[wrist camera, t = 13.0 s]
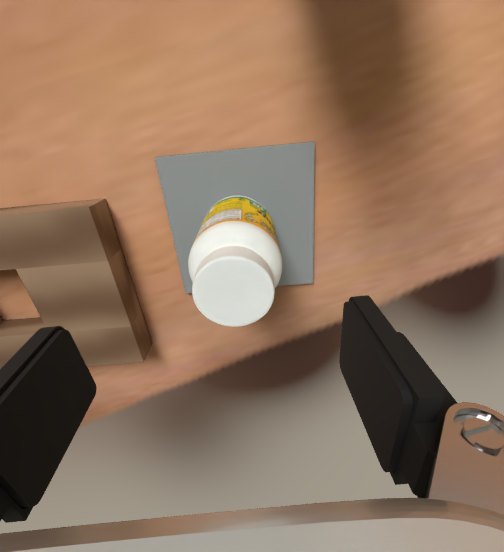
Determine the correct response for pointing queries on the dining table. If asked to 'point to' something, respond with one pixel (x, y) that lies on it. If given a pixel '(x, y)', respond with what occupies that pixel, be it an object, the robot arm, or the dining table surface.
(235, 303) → the supplement bottle
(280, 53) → the dining table surface
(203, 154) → the rubber mat
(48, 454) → the robot arm
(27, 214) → the brown board with hole
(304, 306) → the dining table surface
